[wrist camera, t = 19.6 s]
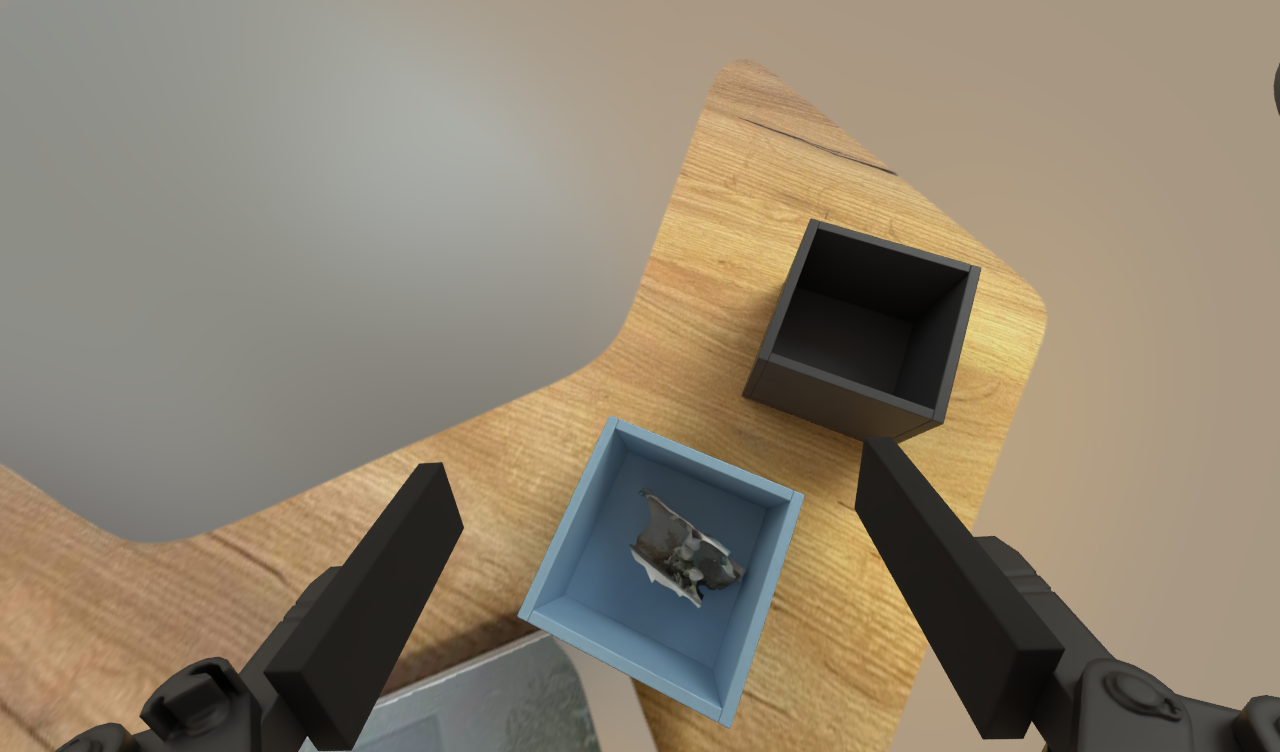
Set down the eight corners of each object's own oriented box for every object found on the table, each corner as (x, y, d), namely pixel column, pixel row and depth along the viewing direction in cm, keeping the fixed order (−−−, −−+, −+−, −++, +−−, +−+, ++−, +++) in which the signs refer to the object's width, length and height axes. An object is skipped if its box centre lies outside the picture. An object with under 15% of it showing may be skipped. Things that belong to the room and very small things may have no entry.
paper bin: (776, 504, 31) (805, 494, 24) (717, 681, 28) (730, 730, 21) (624, 441, 33) (609, 414, 26) (554, 598, 30) (516, 616, 23)
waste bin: (919, 323, 35) (982, 267, 27) (884, 449, 32) (943, 424, 25) (785, 280, 37) (810, 217, 30) (741, 395, 34) (757, 357, 27)
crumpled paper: (646, 487, 32) (637, 473, 25) (747, 563, 30) (767, 569, 23) (608, 540, 31) (588, 540, 24) (710, 622, 29) (719, 647, 22)
